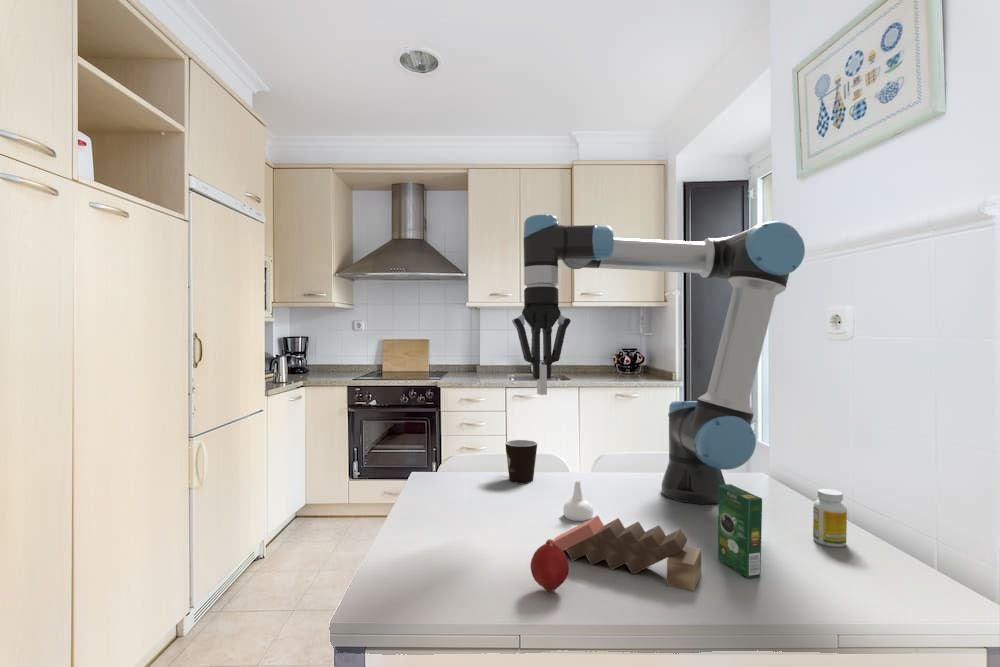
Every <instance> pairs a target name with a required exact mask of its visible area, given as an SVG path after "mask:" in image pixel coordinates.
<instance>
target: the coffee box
mask: <svg viewBox="0 0 1000 667" xmlns="http://www.w3.org/2000/svg"><path fill="white" fill-rule="evenodd" d="M717 504H718V506H717V508H718V509H717V510H718V511H717V512H718V514H717V515H718V519H717V527H718V528H717V559H718V560H719V561H721V562H722V563H723V564H725V565H727V566H728V567H730V568H732V569H733V570H734V571H736V572H737V573H738V574H739V575H742V576H743V577H745V578H747V579H756V578H760V577H761V567H762V566H761V565H762V559H761V558H762V526H763V525H762V522H763V521H762V520H763V519H762V518H763V498H762V497H760V496H757V495H755V494H753V493H750V492H748V491H746V490H744V489H741V487H740V488H739V486H738V487H737V486H736V485H733V484H731V483H730V484H726V483H725V485H719V499H718V503H717Z"/></svg>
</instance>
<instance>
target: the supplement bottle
mask: <svg viewBox="0 0 1000 667" xmlns="http://www.w3.org/2000/svg"><path fill="white" fill-rule="evenodd" d="M843 495H844V493H843V492H842V491H839V490H836V489H832V488H819V489H818V490H817V499H816V500H815V501H814V502H813V509H812V510H813V511H812V512H813V516H812V518H813V519H812V538H813V540H814V541H815V542H816V543H817V544H820V545H822V546H827V547H831V548H843V547H845V546H846V545H847V523H848V522H847V519H848V518H847V517H848V515H847V514H848V509H847V506H846V505H845V504H844V503H843V502H842V501H843V500H844V497H843Z"/></svg>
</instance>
